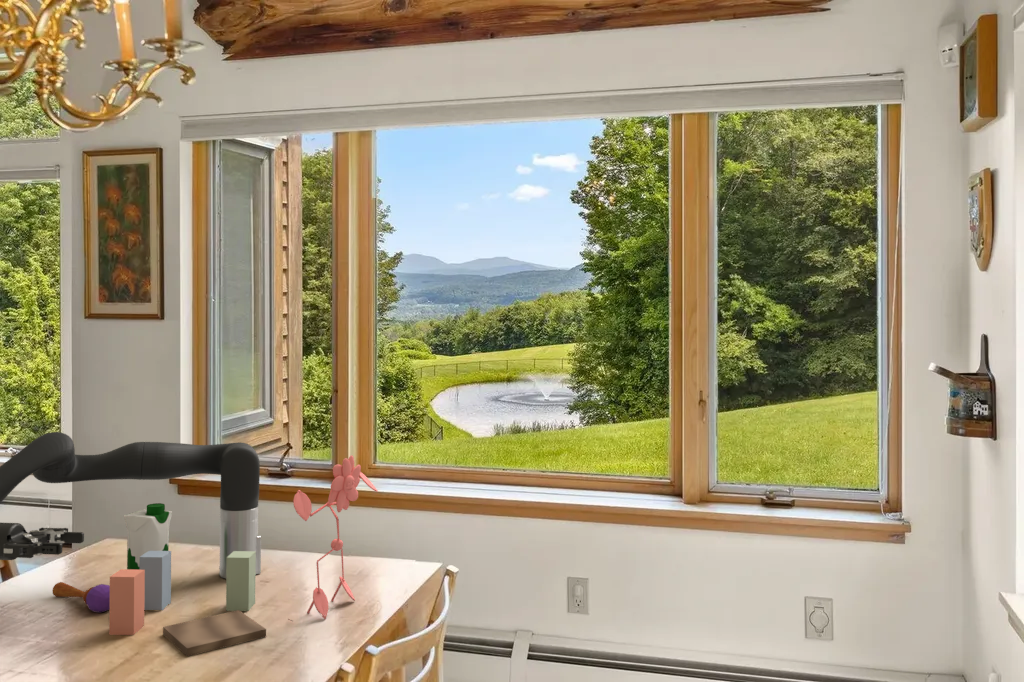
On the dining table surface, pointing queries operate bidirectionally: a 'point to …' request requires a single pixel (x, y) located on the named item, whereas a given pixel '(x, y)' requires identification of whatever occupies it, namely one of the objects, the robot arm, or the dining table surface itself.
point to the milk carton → (146, 532)
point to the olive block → (240, 580)
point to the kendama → (86, 595)
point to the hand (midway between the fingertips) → (72, 543)
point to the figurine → (342, 493)
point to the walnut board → (213, 632)
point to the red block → (126, 602)
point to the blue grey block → (157, 579)
